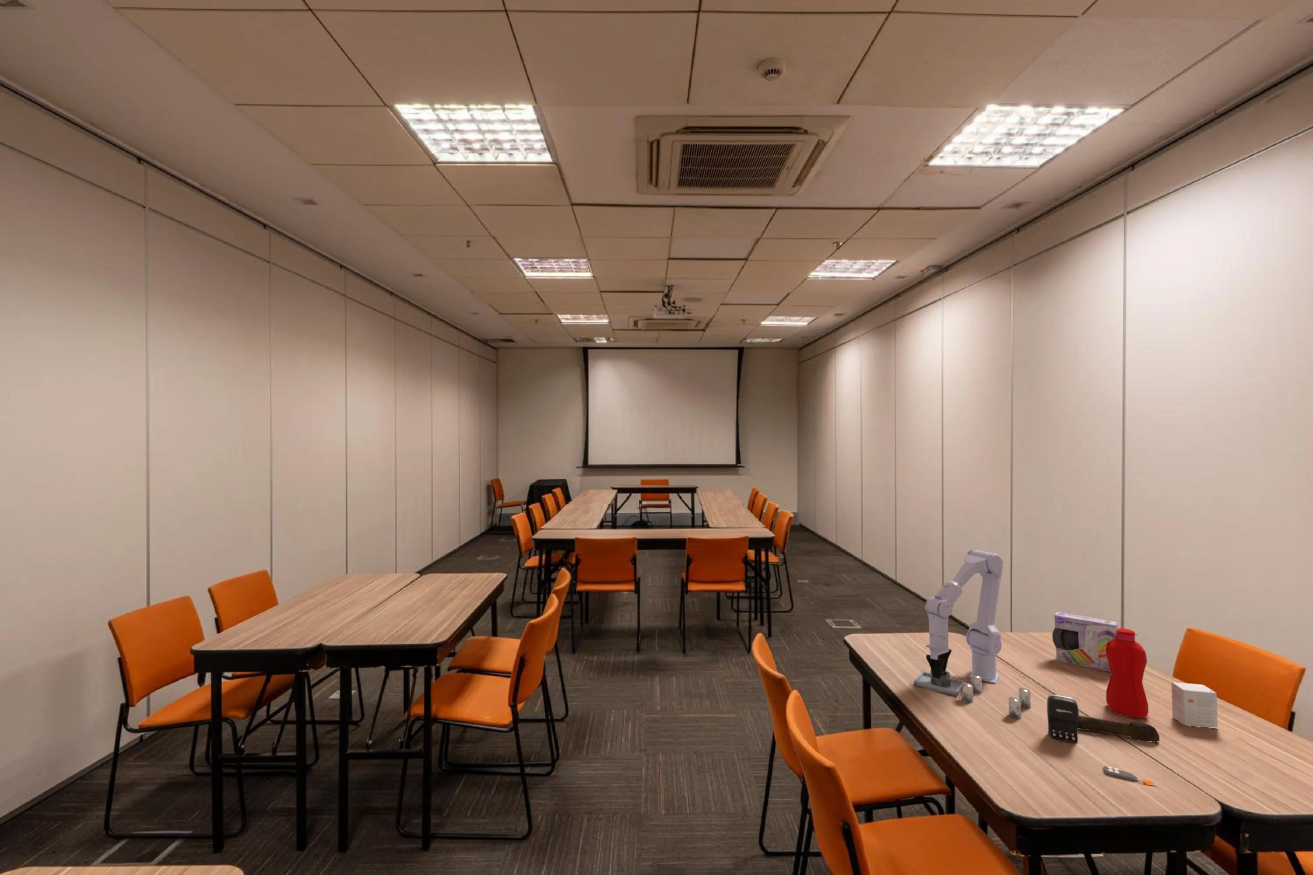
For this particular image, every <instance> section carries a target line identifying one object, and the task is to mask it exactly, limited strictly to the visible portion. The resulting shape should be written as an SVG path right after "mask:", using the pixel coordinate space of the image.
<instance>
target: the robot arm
mask: <svg viewBox="0 0 1313 875" xmlns="http://www.w3.org/2000/svg"><path fill="white" fill-rule="evenodd" d="M963 558H964V560H963V561H964V563H963V564H962V565H961V568H960V569H959V570H958V572H957V573H956V575H955V576H954V578H953V579H952V580H948V581H945V582H944V584H943V586H942V587H941V588H940V589H939V590H938V591H937V593H936V594H935V595H934V596H932V597H929V598H927V599H926V601H925V605H924V610H925V611H926V613H927V618H928V631H929V632H928V634H929V642H928V643H926V644H925V647H926V648H928V649H929V652H930V653H929V654H926V655H925V658H926V660H927V662H928V664H929V667H930V670H931V671H932V675H933V678H937V679H940V677H941V672H942V669H943V670H944V671H947V668H948V662H949V658H950V655H951V653H952V651H953V649H950V648H949V617H950V616H951V615H952V612H953V608H954V607H955V606H954V604H955V602H957V600H958V599H959V598H960V597H961V595H962V594H963V586H965V585H966V584H967V583H968V581H970V580H971V579H972V577H974V576H975V574H980V576H981V577H982V580H981V586H980V594H979V600H978V601H979V602H978V609H977V615H976V621H975V622H973V623H970V624H969V628H968V631H967V632H966V635H965V641H966V643H967V644H968V646H969V649H970V650H971V672H970V673H969V675H968V678H970V679H971V675H972V674H976V675H980V676H981V677H982V681H983V682H987V683H991V684H996V683H997V682H998V679H999V677H1000V673H999V672H997V655H999V653H1000V651H1001V650H1002V646H1003V645H1002V638H1001V637H1002V634H1001V632H1000V630H998V629H997V627H996V626H995V624H996V617H997V616H996V615H997V608H998V602H999V594H1000V587H1001V580H1002V576H1003V575H1002V573H1003V566H1004V559H1003V558H1002V557H1001V555H999V554H998V553H994V552H990V551H989V552H988V551H984V550H978V549H976V548H971V549H969V550H968V551H967V552H966V554H964V557H963Z"/></svg>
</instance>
